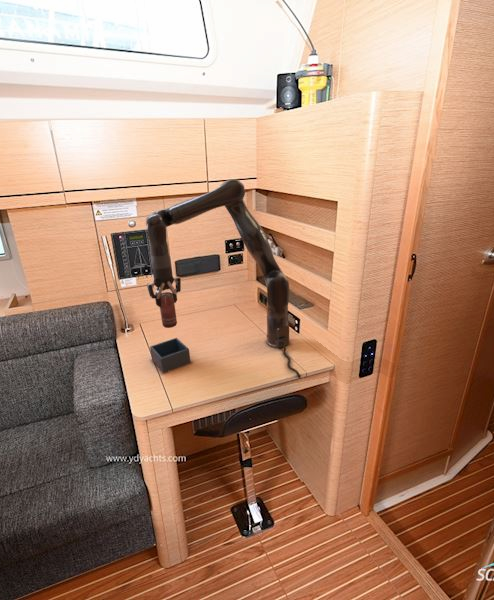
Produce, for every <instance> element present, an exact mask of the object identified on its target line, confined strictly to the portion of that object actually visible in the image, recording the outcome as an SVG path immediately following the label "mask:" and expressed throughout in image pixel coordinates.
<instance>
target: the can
mask: <svg viewBox="0 0 494 600" xmlns="http://www.w3.org/2000/svg"><path fill="white" fill-rule="evenodd" d="M159 298H160V302H161V307H159V310H160V317H161V323H162V327H164V328H165V329H171V328H174V327H176V326H177V325H178V319H177V312H176V303H174V297H173V294H172V292H171V291H169V292H168V291H166V292H162V293H161V294H160V297H159Z"/></svg>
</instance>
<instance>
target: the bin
mask: <svg viewBox="0 0 494 600" xmlns="http://www.w3.org/2000/svg"><path fill="white" fill-rule="evenodd" d="M149 350H150V355H151V361H152V362H153V363H154V364H155V366H156V367H157V368H158V369H159V370H160V371H161V373H162V374H165V373H168V372H170V371H173V370H175V369H178V368H181V367H183V366H186V365H188V364H191V353H190V348H189V347H188V346H186V345H185V344H184V343H183V342H182V341H181V340H180V339H179V338H178V337H174V338H171V339H168V340H165V341H162V342H159V343H156V344H153V345H150V346H149Z"/></svg>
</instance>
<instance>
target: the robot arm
mask: <svg viewBox="0 0 494 600" xmlns="http://www.w3.org/2000/svg"><path fill="white" fill-rule="evenodd" d="M245 196H246V187H245V185H244V184H243V182H241V181H240V180H238V179H234V178H233V179H232V178H230V179H227V180H225V181H223V182H222V183H221V184H220V185H219V186H218V187H217V188H215V189H213V190H211V191H209V192H207V193H204V194H201V195H198V196H196V197H192V198H189V199H186V200H183V201H181V202H178V203H176V204H173V205H172V206H169V207H167V208H163V209H159V210H157V211H153V212H151V213H149V214H148V215H147V216H146V217H145V226H146V231H147V235H148V240H149V243H148V244H149V252H150V253H149V254H150V262H151V265H150V266H151V271H152V276H153V282H151V283H149V282H148V283H147V284H146V287H147V291H148V294H149V297H150V298H151V299H153V300H154V301H155V305H156V306H157V307H158V308H160V307H161V302H160V298H159V297H160V294H161V293H163V292H164V291H165V290H166V291H167V290H170V293H172V294H173V297H174V304H176V303H177V301H178V295H177V294H178V293H180V292H181V290H182V287H181V286H182V285H181V282H182V281H181V280H182V278H180V277H179V276H175V277H174V276H173V268H172V261H171V260H172V259H171V256H170V249H169V245H168V239H167V238H168V237H167V235H168V233H167V228H169V227H170V226H173V225H180V224H182V223H185V222H187V221H189V220H192V219H195V218H197V217H198V216H201V215H203V214H205V213H208V212H209V211H212V210H215V209H217V208H222V207H224V208H225V209H226V211H227V212H228V214H229V215H230V217H231V219H232V220H233V223H234V225H235V228H236V230H237V232H238V234H239V236H240V238H241V240H242V242H243V244H244V246H245V249H246V250H247V252H248V253H249V255H250V256H251V257H252V259H253V260H254V262H255V263H256V264H257V265H258V268H259V269H260V271H261V273H262V276H263V279H264V282H265V285H266V342H267V345H268V346H270V347H273V348H276V349H281V348H283V351H282V354H283V355H284V357H285V358H287V364H286V365H287V368H288V369H289V370H290V371H292V372H294V373H295V374H296V376H297V378H298V379H301V375H300V373H299V371H298V370H297V369H295V368H293V367H291V357H290V356H289V355H287V353H286V350H287V346H288V345H290V324H289V316H288V315H289V303H290V282H289V280H288V277H287V276H286V274H285V273H284V271H283V270H282V269H281V267H280V266H279V263H278V262H277V261H276V259H275V257H274V254H273V250H272V247H271V244H270V241H269V240H268V237H267V236H266V233H265V231H264V229H263V228H262V226H261V225H260V223H259V221H258V220H257V219H256V218H255V217H254V216H253V214H252V213H251V212H250V211H249V209H248V207H247V205H246V202H245V200H244V198H245ZM174 283H175V287H174V286H173V285H174ZM154 288H155V292H154Z"/></svg>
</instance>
